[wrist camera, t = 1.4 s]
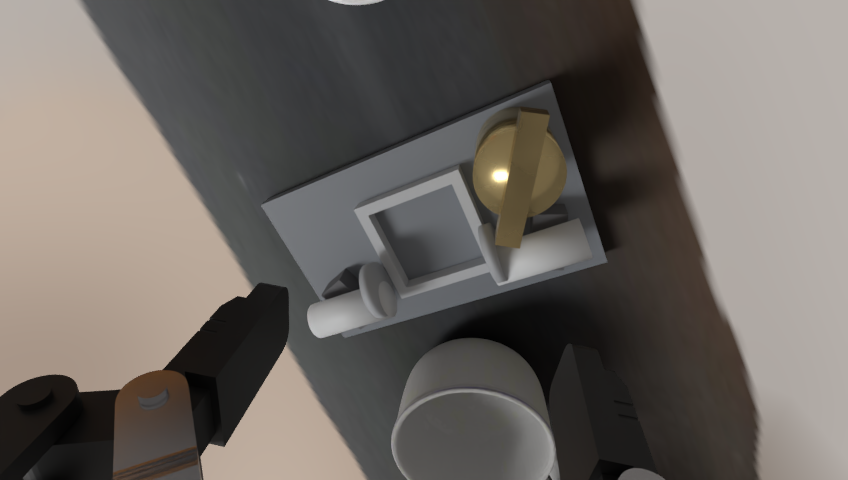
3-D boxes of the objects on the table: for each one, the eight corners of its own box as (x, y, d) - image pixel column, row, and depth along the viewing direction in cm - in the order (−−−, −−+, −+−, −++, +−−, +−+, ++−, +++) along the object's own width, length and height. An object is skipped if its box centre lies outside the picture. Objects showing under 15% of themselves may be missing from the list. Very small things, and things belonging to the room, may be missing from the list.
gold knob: (485, 84, 25) (483, 106, 19) (564, 93, 24) (588, 120, 18) (468, 191, 28) (462, 240, 22) (539, 200, 27) (553, 253, 21)
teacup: (383, 360, 37) (357, 443, 30) (482, 291, 32) (479, 368, 25) (493, 454, 40) (494, 549, 33) (596, 403, 36) (623, 499, 29)
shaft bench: (548, 79, 25) (563, 96, 20) (603, 253, 30) (626, 303, 25) (268, 198, 31) (224, 234, 26) (348, 328, 36) (324, 381, 30)
